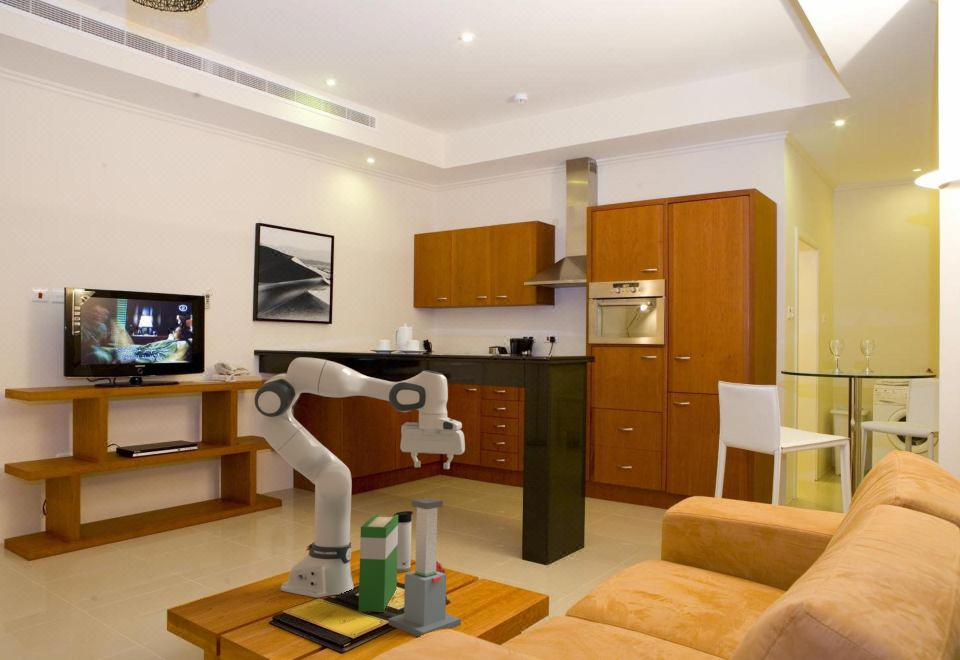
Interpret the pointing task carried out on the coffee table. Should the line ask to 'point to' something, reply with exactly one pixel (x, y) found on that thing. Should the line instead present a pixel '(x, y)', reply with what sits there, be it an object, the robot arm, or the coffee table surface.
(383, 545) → the hardback book
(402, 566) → the travel mug
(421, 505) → the steel column
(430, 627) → the stand sleeve
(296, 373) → the robot arm
